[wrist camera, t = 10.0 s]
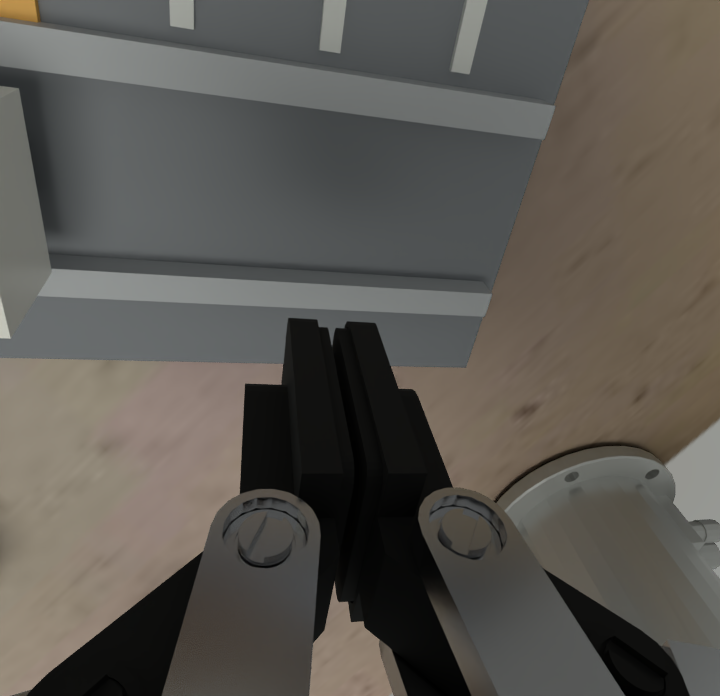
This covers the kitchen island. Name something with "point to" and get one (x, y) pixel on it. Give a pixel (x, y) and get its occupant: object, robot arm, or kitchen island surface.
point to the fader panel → (276, 168)
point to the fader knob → (18, 219)
